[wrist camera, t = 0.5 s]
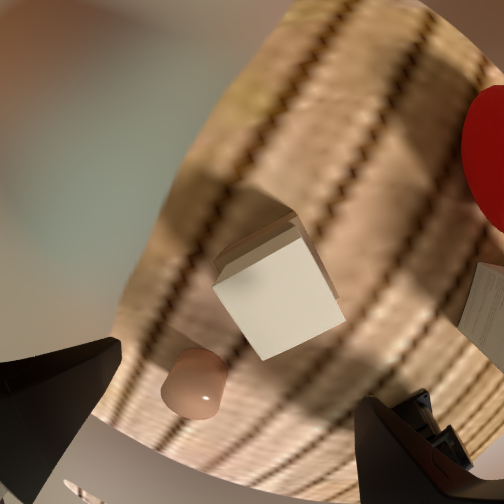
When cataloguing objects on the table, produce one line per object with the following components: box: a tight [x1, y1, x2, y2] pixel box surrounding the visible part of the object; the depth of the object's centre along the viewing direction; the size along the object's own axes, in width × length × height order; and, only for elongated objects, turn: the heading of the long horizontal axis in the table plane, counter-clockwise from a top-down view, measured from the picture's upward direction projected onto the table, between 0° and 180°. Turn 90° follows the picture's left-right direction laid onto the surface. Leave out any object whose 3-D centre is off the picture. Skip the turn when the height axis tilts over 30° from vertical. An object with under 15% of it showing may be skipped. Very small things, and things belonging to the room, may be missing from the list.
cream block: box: [212, 226, 346, 361], centre depth 16 cm, size 5×5×4 cm
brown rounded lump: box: [161, 348, 228, 420], centre depth 22 cm, size 5×5×4 cm
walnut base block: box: [213, 211, 339, 299], centre depth 19 cm, size 6×6×4 cm
